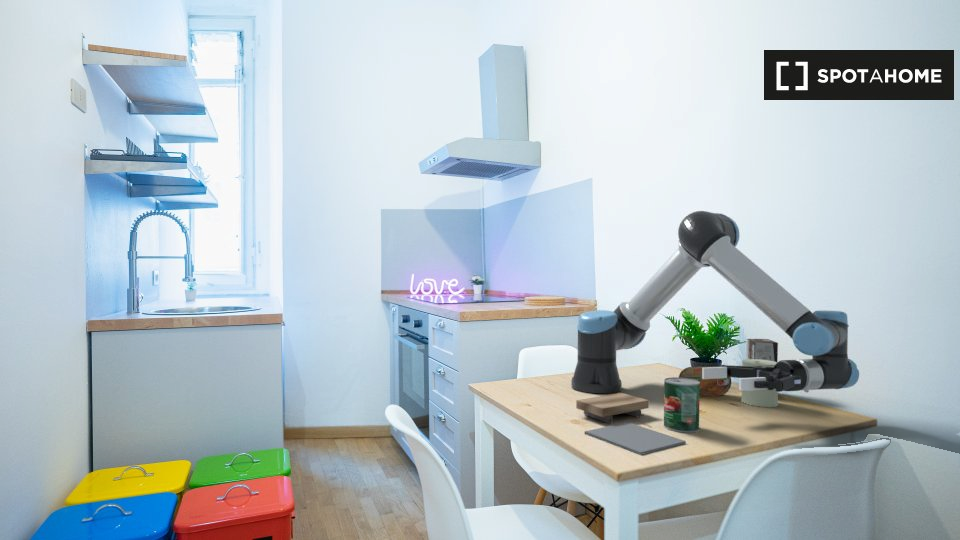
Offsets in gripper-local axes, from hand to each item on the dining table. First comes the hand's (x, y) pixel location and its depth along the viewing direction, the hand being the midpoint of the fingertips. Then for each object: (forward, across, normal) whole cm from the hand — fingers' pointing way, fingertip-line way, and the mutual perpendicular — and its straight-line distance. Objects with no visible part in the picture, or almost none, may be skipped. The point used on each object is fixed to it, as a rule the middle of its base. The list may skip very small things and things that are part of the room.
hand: (720, 378), depth 131 cm
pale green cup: (-25, +18, -11) cm, 33 cm away
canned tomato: (+10, 0, -11) cm, 15 cm away
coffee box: (-34, +27, -11) cm, 45 cm away
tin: (-16, +29, -11) cm, 35 cm away
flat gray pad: (+25, -5, -11) cm, 28 cm away
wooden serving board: (+22, +12, -11) cm, 27 cm away
